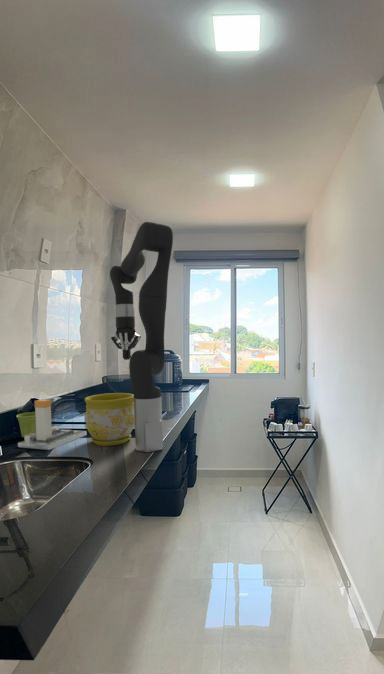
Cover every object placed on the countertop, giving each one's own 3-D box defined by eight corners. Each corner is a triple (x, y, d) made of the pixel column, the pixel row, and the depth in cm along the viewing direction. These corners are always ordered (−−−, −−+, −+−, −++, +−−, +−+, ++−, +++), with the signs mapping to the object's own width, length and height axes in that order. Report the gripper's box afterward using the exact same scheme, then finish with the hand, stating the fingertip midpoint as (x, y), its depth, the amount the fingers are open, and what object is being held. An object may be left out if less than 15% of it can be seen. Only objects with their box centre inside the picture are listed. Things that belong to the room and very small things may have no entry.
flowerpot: (125, 448, 133) (124, 400, 133) (77, 447, 137) (75, 400, 137) (143, 435, 151) (141, 392, 151) (99, 434, 154) (97, 393, 154)
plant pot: (25, 440, 150) (24, 417, 150) (12, 437, 156) (11, 415, 156) (47, 434, 158) (46, 413, 158) (34, 432, 163) (33, 411, 163)
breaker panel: (86, 434, 155) (86, 425, 155) (48, 449, 135) (48, 439, 135) (58, 432, 160) (57, 424, 160) (17, 447, 140) (17, 437, 140)
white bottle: (52, 438, 144) (50, 399, 144) (46, 440, 141) (44, 401, 141) (42, 437, 145) (40, 399, 145) (36, 440, 142) (34, 400, 142)
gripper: (144, 315, 157) (146, 358, 157) (116, 317, 162) (117, 359, 162) (134, 314, 150) (136, 360, 151) (105, 316, 155) (107, 360, 155)
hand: (126, 359), depth 156 cm, fingers closed
